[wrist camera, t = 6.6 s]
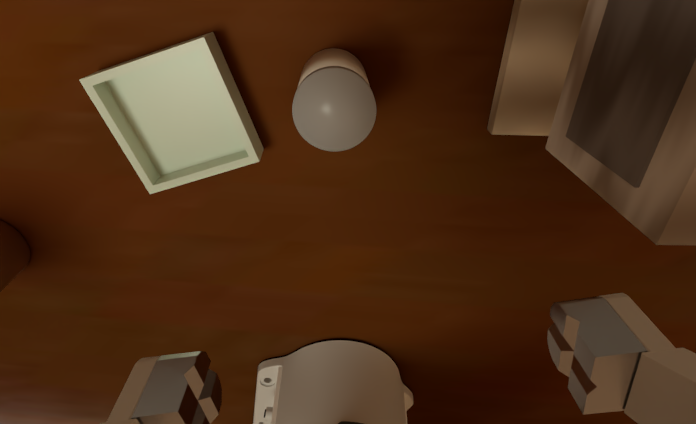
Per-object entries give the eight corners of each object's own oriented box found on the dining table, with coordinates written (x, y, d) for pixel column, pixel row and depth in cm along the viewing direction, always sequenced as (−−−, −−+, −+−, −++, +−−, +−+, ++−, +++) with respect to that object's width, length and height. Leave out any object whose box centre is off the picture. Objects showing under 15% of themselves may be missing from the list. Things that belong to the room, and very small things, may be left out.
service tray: (263, 148, 34) (259, 161, 32) (161, 180, 35) (149, 194, 33) (213, 31, 30) (203, 37, 27) (96, 71, 31) (79, 79, 28)
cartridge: (353, 125, 33) (358, 161, 27) (291, 103, 32) (282, 136, 26) (377, 62, 31) (389, 86, 25) (312, 36, 30) (307, 55, 24)
